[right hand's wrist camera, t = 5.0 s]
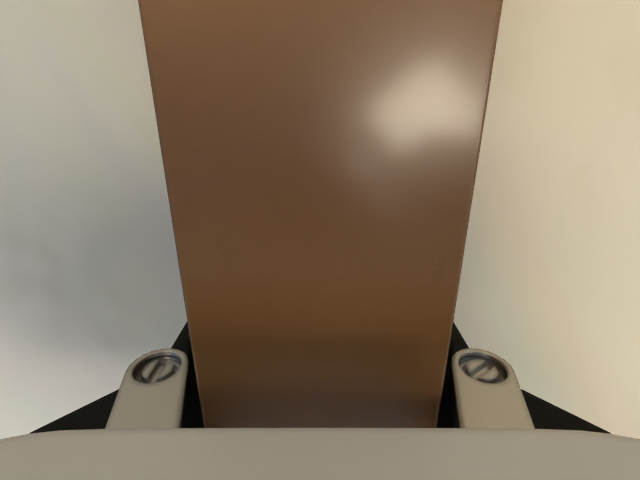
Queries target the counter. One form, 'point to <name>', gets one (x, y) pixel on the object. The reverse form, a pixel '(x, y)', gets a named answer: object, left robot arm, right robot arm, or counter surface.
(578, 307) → the counter surface
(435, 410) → the bar
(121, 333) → the counter surface
